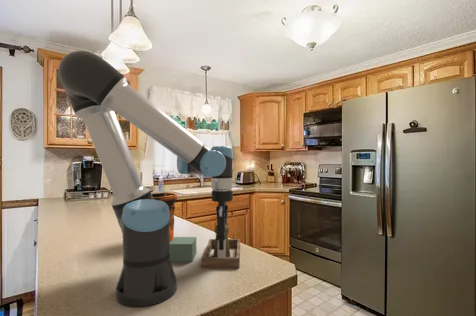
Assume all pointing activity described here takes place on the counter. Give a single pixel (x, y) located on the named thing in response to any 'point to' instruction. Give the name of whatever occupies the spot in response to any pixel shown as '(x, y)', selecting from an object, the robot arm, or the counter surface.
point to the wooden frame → (221, 261)
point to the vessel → (169, 200)
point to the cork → (226, 242)
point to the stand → (182, 249)
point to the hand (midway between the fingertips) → (222, 254)
